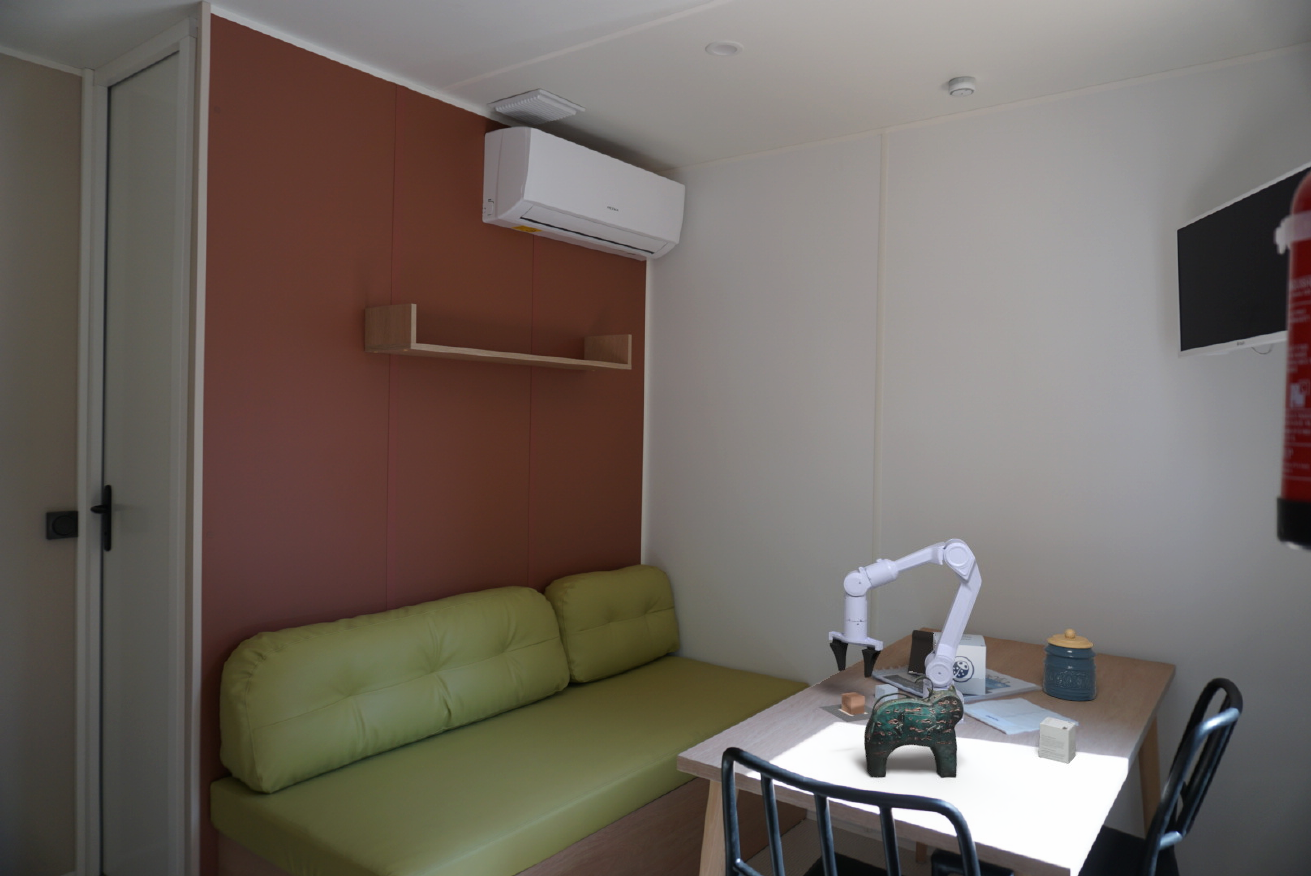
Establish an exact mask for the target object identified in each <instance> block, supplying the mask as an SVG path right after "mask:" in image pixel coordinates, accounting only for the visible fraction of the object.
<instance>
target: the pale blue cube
mask: <svg viewBox="0 0 1311 876" xmlns="http://www.w3.org/2000/svg"><path fill="white" fill-rule="evenodd" d="M874 690H875V693H874V698H875V699H876V700H877V699H879V698H880V697H881V696H883V695H886V694H890V693H899V689H898V687H895V686H894V685H891V684H889V683H886V684H877V685H875V689H874ZM898 697H899V695H892V696H888V697H884V698H883V699H881V700H880V701H879V702H882V703H884V702H885V701H887V700H891V699H899V698H898Z"/></svg>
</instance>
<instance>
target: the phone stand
mask: <svg viewBox="0 0 1311 876" xmlns="http://www.w3.org/2000/svg"><path fill="white" fill-rule="evenodd" d="M934 633H935V632H932V631H925V630H918V629H913V631H912V633H911V634H912V635H911V644H910V645H911V646H910V654H909V662H908V668H907V669H908V670H907V672H908V671H913V672H917V673H923V674H926V667H925V660H926V657H927V656H928V655H929V654H930V653H931V652H932V651H933V634H934Z"/></svg>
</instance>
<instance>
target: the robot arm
mask: <svg viewBox="0 0 1311 876" xmlns="http://www.w3.org/2000/svg"><path fill="white" fill-rule="evenodd" d="M943 561H944V562H945V564H946V565H947V566H948V567H949V569H951V570H953V571H954V573H955V575H956V576H957V579H958V581H959V583H958V586H957V589H956V591H955V594H954V597H953V600H952V602H951V605H950V608H949V611H948V612H947V616H946V618H945V621H944V624H943V626H942V629H941V632H940V634H939V637H938V639H937V641H936V642H935V644H936V645H935V647H934V650H933V651H932V652H931V653H930V654H929V655H928V656H927V657H926V660H925V667H926V677H928V678H929V679H931V681H932V683H933V690H935V691H938V690H948V689H949V688H950V686H951V685H953V686H955V681H954V679H953V678H954V664H955V661H956V656H957V651H958V648H959V645H960V643H961V640H962V639H963V638H962V637H963V636H964V635H963V634H964V632H965V629H966V628H967V627H966V626H967V624H968V622H969V618H970V616H971V613H972V611H973V608H974V605H975V603H976V600H977V598H978V595H979V592H980V589H981V586H982V582H983V580H982V577H981V573H980V569H979V566H978V561H977V560H976V556H975V555H974V553H973V551H972V550H971V549H970V547H969V545H968V544H967V543H966V542H965V541H964V540H962V539H960V538H951V539H948V540H947V541H946V542H945V541H941V542H937V543H934V544H931V545H928V546H926V547H923V548H922V549H919V550H916V551H914V552H912V553H909V554H906V555H905V556H902V557H900V558H898V559H896V560H891V559H889V558H884V559H883V558H881V557H880V558H877V559H876V561H875V563H872V564H869V565H867V566H864V567H863V566H859V567H858V570H857V569H856V570H851V571H849V572H848V573H847V574H846V576H845V578H844V580H843V588H844V596H843V597H844V600H843V632H841V631H829V632H828V640H829V641H831V642H830V643H829V647H830V649H831V650H832V653H833V655H834V658H835V661H836V666H837V669H838V671H839V672H843V671H846V667H847V653H848V647H849V644H850V645H855V646H857V647H858V646H860V647H862V648H863V647H864V649H861V653H862V657H863V669H864V670H863V673H864V674H863V675H864V678H866V679H868V678H870V677H872V675H873V671H874V668H875V664H876V662H877V660H878V658H879V656H880V655H881V653H882V650H884V641H881V640H878V639H875V638H872V637H869V636H868V600H867V591H868V590H874V589H876V588H877V589H878V588H879V587H882V586H885V585H887V584H889V583H890V584H891V583H892V582H895V581H896V580H897V579H898V576H899V574H900V573H904V572H907V571H909V570H913V569H915V568H918V567H921V566H924V565H926V564H930V563H931V564H935V565H941V566H943ZM922 682H923V683H922V698H925V697H928V695H929V691H928V690H927V687H928V688H931V689H932V684H931V682H930V681H929V680H928V679H923V681H922ZM955 689H956V693H957V695H958V696H959V698H960V699H961V701H962V703H963V708H964V709H965V699H964V695H963V694H962V692H961V691H959V690H958V689H957V687H955ZM927 699H928V698H927ZM961 724H964V725H968V724H967V721H965V713H964V714H963V717H962V719H961V720H960V721H959V722H958V723H957V724H956V725H961Z"/></svg>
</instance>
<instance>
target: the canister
mask: <svg viewBox="0 0 1311 876" xmlns="http://www.w3.org/2000/svg"><path fill="white" fill-rule="evenodd" d="M1046 642H1047V643H1048V644H1046V645H1045V646H1044V647H1043V648H1042V649H1043V651H1044V652H1045V655H1044V656H1045V657H1044V658H1043V660H1042V662H1043V681H1042V687H1043V692H1044V693H1045V694H1046V695H1048V696H1051V697H1053V698H1057V699H1061V700H1067V701H1074V702H1085V701H1086V702H1087V701H1092V700H1095V698H1096V694H1097V667H1098V666H1097V664H1096V661H1095V658H1096V657H1097V655H1098V653H1097V651H1095V650H1094V649H1093V647H1094V643H1093V642H1091V641H1090V640H1088V638H1086V637H1084V636H1081V635H1076V631H1075V629H1072V628H1067V629H1065V631H1064V633H1058V634H1054V635H1052V636H1050V637H1048V638H1047V639H1046Z"/></svg>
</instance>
